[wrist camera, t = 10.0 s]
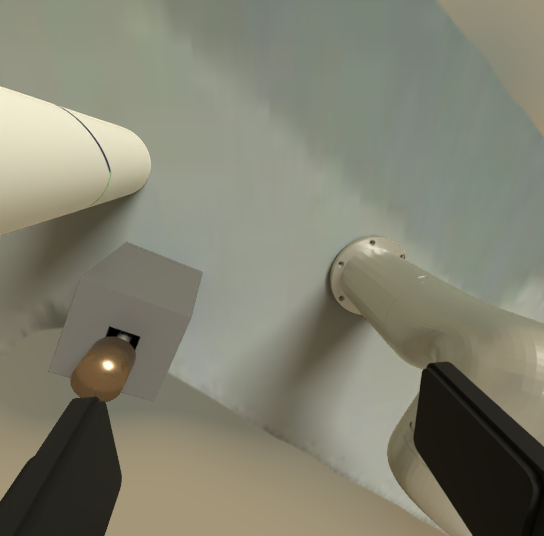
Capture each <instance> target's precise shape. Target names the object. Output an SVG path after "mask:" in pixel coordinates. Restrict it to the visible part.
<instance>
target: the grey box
mask: <svg viewBox="0 0 544 536" xmlns="http://www.w3.org/2000/svg"><path fill="white" fill-rule="evenodd" d="M201 276H202V272H201V271H198V270H196V269H193V268H191V267H188V266H186V265H183V264H181V263H178V262H175V261H173V260H170V259H168V258H165V257H163V256H160V255H158V254H155V253H153V252H150V251H148V250H145V249H143V248H140V247H138V246H135V245H132V244H130V243H127V242H126V243H125V244H124V245H122V246H121V247H120V248H118V249H117V250H116V251H115V252H113V253H112V254H111V255H109V256H108V257H107V258H106V259H104V260H103V261H102V262H100V263H99V264H98V265H96V266H95V267H94V268H93V269H91V270H90V271H89V272H87V273H86V274H85V275H84V276H82V277H81V278H80V280H79V283H78V286H77V289H76V292H75V295H74V298H73V301H72V304H71V307H70V310H69V313H68V316H67V319H66V321H65V324H64V327H63V330H62V333H61V336H60V339H59V342H58V345H57V348H56V351H55V354H54V357H53V360H52V362H51V365H50V368H49V372H52V373H55V374H59V375H62V376H66V377H69V378H71V375H72V373H73V371H74V370H75V368H76V367H77V366H78V364H79V363H80V362H81V360H82V359H83V358H84V356H85V355H86V354H87V352H88V351H89V350H90V348H91V347H92V346H93V344H94V343H95V342H96V341H98V340H99V339H102V338H105V337H117V335H118V334H119V332H120V331H121V330H122V331H125V332H128V333H131V334H134V335H133V337H132V338H131V340H130V342H129V343H130V344H131V345H132V347H133V348H134V350H135V353H136V361H135V363H134V366H133V368H132V370H131V372H130V374H129V376H128V378H127V380H126V383H125V385H124V387H123V389H122V391H121V392H122V393H125V394H129V395H132V396H136V397H139V398H143V399H146V400H150V401H155V398H156V396H157V394H158V391H159V390H160V387H161V385H162V383H163V381H164V378H165V376H166V374H167V371H168V369H169V367H170V365H171V362H172V360H173V358H174V356H175V353H176V351H177V349H178V347H179V344H180V342H181V340H182V338H183V335H184V333H185V331H186V329H187V326H188V324H189V322H190V320H191V317H192V313H193V309H194V305H195V301H196V297H197V293H198V288H199V284H200V280H201Z"/></svg>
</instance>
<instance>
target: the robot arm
mask: <svg viewBox="0 0 544 536" xmlns="http://www.w3.org/2000/svg"><path fill="white" fill-rule="evenodd" d="M370 241H371V243H370ZM339 262H341V263H340V264H338V263H339ZM330 286H331V291H332V293H333V295H334V297H335V299H336V300H337V302H338V303H339V304H340V305H341V306H342V307H343V308H345V309H346V310H347V311H349V312H352V313H354V314H358V315H363V316H364V317H365V318H366V320H367V321H368V322H369V323H370V324H371V325H372V326H373V328H374V329H375V330H376V331H377V332H378V333H379V334H380V336H381V337H382V338H383V339H384V340H385V341H386V342H387V344H388V345H389V346H390V347H391V348H392V349H393V350H394V351H395V353H396V354H397V355H398V356H399V357H400V358H402V359H403V360H404V361H406V362H407V363H409V364H410V365H412V366H415V367H417V368H420V369H423V371H422V376H421V384H420V391H419V393H418V394H417V396H416V397H415V399H414V400H413V401H412V403H411V404H410V406H409V407H408V409H407V410H406V412H405V413H404V415H403V416H402V418H401V420H400V421H399V423H398V424H397V426H396V428H395V429H394V431H393V433H392V435H391V437H390V440H389V443H388V448H387V457H388V462H389V466H390V469H391V471H392V473H393V475H394V477H395V479H396V480H397V482H398V483H399V485H400V486H401V488H402V489H403V490H404V492H405V493H406V494H407V495H408V496H409V498H410V499H411V500H412V501H413V502H414V503H415V504H416V505H417V506H418V507H419V508H420V509H421V510H422V511H423V512H424V513H425V514H426V515H427V516H428V517H429V518H430V519H431V520H433V521H434V522H435V523H436V524H437V525H438V526H439V527H440V528H442V529H443V530H444V531H445V532H446V533H447V534H448V535H450V536H544V324H543V323H541V322H538V321H535V320H532V319H529V318H526V317H523V316H520V315H517V314H514V313H512V312H509V311H506V310H503V309H500V308H497V307H495V306H492V305H490V304H487V303H485V302H483V301H481V300H479V299H477V298H475V297H473V296H471V295H469V294H467V293H465V292H463V291H461V290H459V289H457V288H455V287H454V286H452V285H450V284H448V283H446V282H444V281H443V280H441V279H439V278H437V277H435V276H433V275H432V274H430V273H428V272H426V271H424V270H423V269H421V268H419V267H417V266H415V265H414V264H412V263H410V261H409V259H408V256H407V254H406V252H405V251H404V249H403V248H402V247H401V246H400V245H399V244H397V243H395V242H394V241H392V240H390V239H388V238H384V237H380V236H369V237H363V238H361V239H358V240H356V241H354V242H352V243H350V244H349V245H348V246H346V247H345V248H344V249H343V250H342V251H341V252H340V253H339V255H338V256H337V258H336V259H335V261H334V263H333V266H332V269H331V273H330ZM340 296H341V297H340ZM121 480H122V475H121V470H120V465H119V461H118V456H117V451H116V447H115V442H114V438H113V434H112V429H111V424H110V420H109V415H108V410H107V406H106V403H105V402H104V401H99V398H98V397H96V396H94V397H84V398H75V399H73V400H72V401H71V402H70V404H69V405H68V406H67V408H66V410H65V411H64V412H63V414H62V416H61V417H60V418H59V420H58V422H57V423H56V425H55V426H54V428H53V429H52V431H51V432H50V434H49V435H48V437H47V438H46V440H45V441H44V443H43V444H42V446H41V447H40V449H39V450H38V452H37V453H36V455H35V456H34V457H32V458H31V459H30V460H29V461H28V462H27V463H26V464H25V466H24V467H23V469H22V470H21V472H20V473H19V475H18V476H17V478H16V479H15V481H14V482H13V484H12V485H11V487H10V488H9V490H8V491H7V493H6V494H5V496H4V497H3V498H2V500H1V501H0V536H104V535H105V532H106V530H107V527H108V524H109V520H110V517H111V515H112V511H113V509H114V506H115V502H116V499H117V496H118V494H119V491H120V487H121Z"/></svg>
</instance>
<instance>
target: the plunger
mask: <svg viewBox="0 0 544 536" xmlns="http://www.w3.org/2000/svg"><path fill="white" fill-rule="evenodd" d="M133 335H134V334H131V333H128V332H125V331H122V330H121V331H120V332H119V334H118V335H117V337H105V338H102V339H99V340H98V341H96V342H95V343H94V344H93V346H92V347H91V348H90V350H89V351H88V352H87V354H86V355H85V356H84V358H83V359H82V360H81V362H80V363H79V364H78V366H77V367H76V368H75V370H74V371H73V373H72V375H71V386H72V389H73V390H74V392H75V393H76V394H77V395H78V396H79V397H81V398H84V397H94V396H96V397H98V398H99V401H104V402H108V401H111V400H113V399H114V398H116V397H117V396H118V395H119V394H120V393H121V391H122V389H123V387H124V385H125V383H126V380H127V378H128V376H129V374H130V372H131V370H132V368H133V366H134V363H135V361H136V353H135V350H134V348H133V347H132V345H131V344H130V343H129V342H130V340H131V338H132V337H133Z"/></svg>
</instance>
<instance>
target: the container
mask: <svg viewBox="0 0 544 536" xmlns="http://www.w3.org/2000/svg"><path fill="white" fill-rule="evenodd" d="M150 170H151V161H150V156H149V153H148V150H147V148H146V146H145V145H144V143H143V142H142V140H141V139H140V138H139V137H138V136H137V135H135V134H134V133H133V132H131V131H130V130H128V129H126V128H123V127H120V126H117V125H114V124H111V123H108V122H105V121H102V120H99V119H96V118H93V117H90V116H87V115H84V114H81V113H78V112H76V111H73V110H70V109H67V108H64V107H61V106H58V105H54V104H52V103H49V102H46V101H43V100H40V99H37V98H34V97H31V96H28V95H25V94H22V93H19V92H16V91H13V90H10V89H7V88H4V87H1V86H0V236H1V235H4V234H7V233H10V232H13V231H16V230H20V229H23V228H26V227H29V226H32V225H35V224H39V223H42V222H45V221H48V220H51V219H54V218H57V217H61V216H64V215H67V214H70V213H73V212H76V211H79V210H83V209H86V208H89V207H92V206H95V205H98V204H101V203H105V202H108V201H111V200H114V199H117V198H120V197H123V196H126V195H130V194H132V193H135V192H136V191H138V190H139V189H141V188H142V187H143V186H144V184H145V183H146V181H147V180H148V177H149V175H150Z"/></svg>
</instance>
